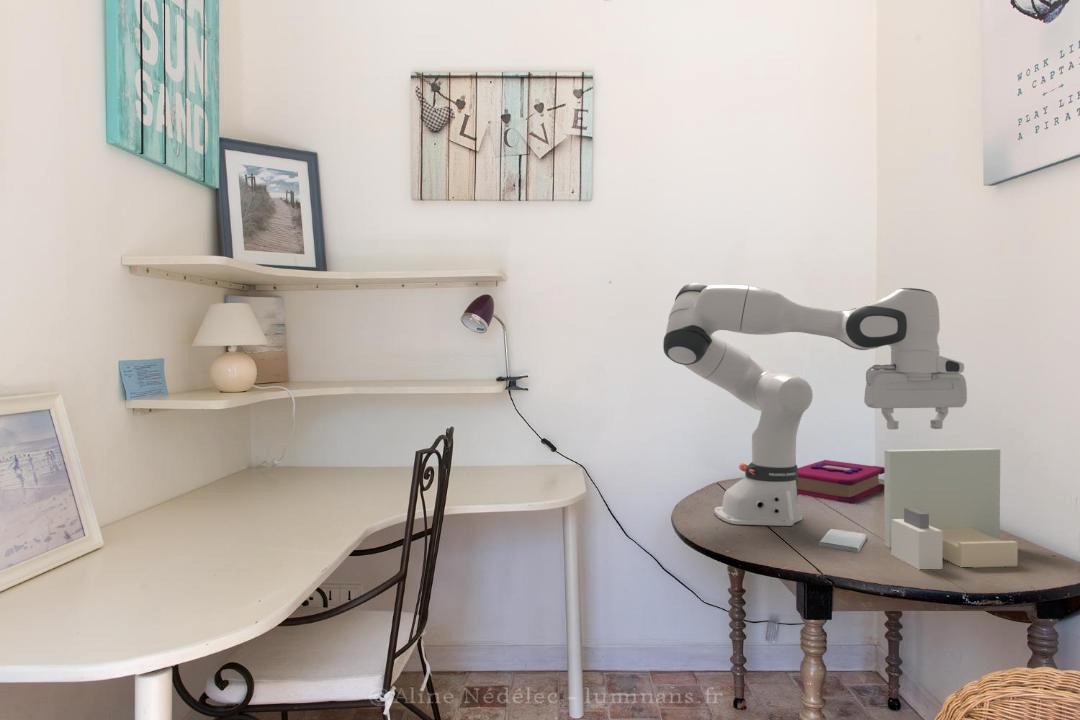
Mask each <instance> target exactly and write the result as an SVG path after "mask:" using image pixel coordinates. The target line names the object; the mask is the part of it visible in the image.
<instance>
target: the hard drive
mask: <svg viewBox="0 0 1080 720" xmlns="http://www.w3.org/2000/svg"><path fill="white" fill-rule="evenodd" d="M866 538H868V537H867V534H866V533H863V532H855V531H850V530H849V531H848V530H843V529H835V528H834V529H833V528H830V529H829V530H828V531H827V532H826V533H825V535H823V537H822V538H821V540H819V542H818V546H819V547H823V548H829V549H835V550H840V551H846V552H852V553H857V554H859V552H860V551H861V549H862V547H863V545H864V544H865V542H866V540H867V539H866Z"/></svg>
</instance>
